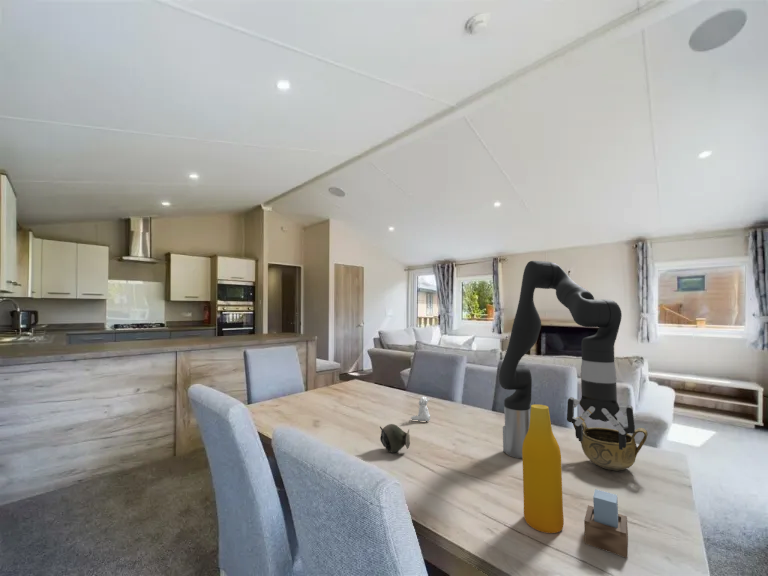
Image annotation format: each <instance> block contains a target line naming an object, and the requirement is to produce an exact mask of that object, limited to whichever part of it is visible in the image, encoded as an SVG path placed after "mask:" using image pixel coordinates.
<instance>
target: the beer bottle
mask: <svg viewBox="0 0 768 576" xmlns="http://www.w3.org/2000/svg"><path fill="white" fill-rule="evenodd" d="M561 453H562V452H561V448H560V446H559V443H558V440H557V438H556V437H555V434H554V433H553V429H552V423H551V415H550V409H549V406H548V405H545V404H537V403H536V404H530V425H529V430H528V432H527V434H526V436H525V439H524V441H523V447H522V458H521V459H522V485H523V486H522V487H523V489H522V490H523V493H522V494H523V517H524V520H525V522H526V523H527V525H528V526H530V527H531V528H532V529H533V530H536V531H538V532H541V533H546V534H558V533H560V532H561V531H562V530H563V529H564V524H565V522H564V521H565V519H564V505H563V503H564V501H563V477H562V475H563V474H562V472H563V471H562V454H561Z"/></svg>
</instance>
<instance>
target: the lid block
mask: <svg viewBox="0 0 768 576" xmlns="http://www.w3.org/2000/svg"><path fill="white" fill-rule="evenodd" d="M592 497H593V498H592V499H593V507H594V521H595V522H598V523H602V524H605V525H608V526H611V527H615V528H618V514H619V506H618V505H619V504H618V494H616V493H615V494H614V493H611V492H607V491H603V490H599V489H596V488H595V489H594V491H593V496H592Z"/></svg>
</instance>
